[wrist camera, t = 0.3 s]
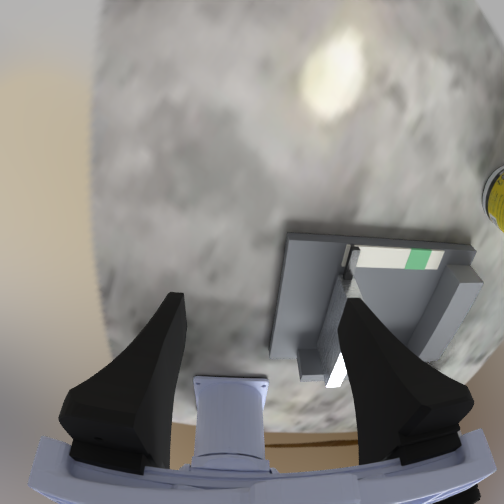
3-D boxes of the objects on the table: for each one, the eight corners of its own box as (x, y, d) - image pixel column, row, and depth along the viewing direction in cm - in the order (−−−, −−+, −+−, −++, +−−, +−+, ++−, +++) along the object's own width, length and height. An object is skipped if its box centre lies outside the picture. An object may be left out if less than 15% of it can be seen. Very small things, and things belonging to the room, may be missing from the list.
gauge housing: (421, 344, 31) (433, 372, 28) (268, 350, 30) (271, 384, 27) (471, 245, 24) (494, 271, 21) (287, 232, 23) (294, 266, 20)
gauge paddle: (329, 344, 28) (339, 386, 24) (317, 344, 28) (325, 387, 24) (361, 244, 22) (383, 287, 18) (345, 244, 22) (365, 287, 18)
